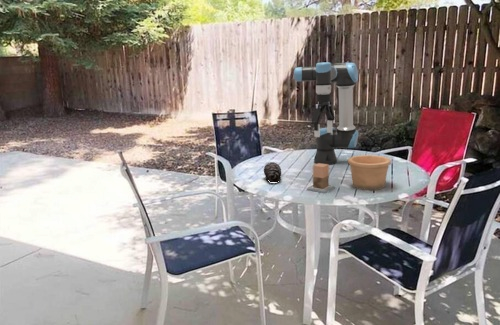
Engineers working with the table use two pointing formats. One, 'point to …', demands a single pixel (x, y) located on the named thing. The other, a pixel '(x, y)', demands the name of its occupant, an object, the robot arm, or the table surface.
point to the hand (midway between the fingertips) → (323, 134)
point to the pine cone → (272, 172)
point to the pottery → (369, 171)
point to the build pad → (321, 189)
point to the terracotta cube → (321, 170)
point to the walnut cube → (320, 182)
